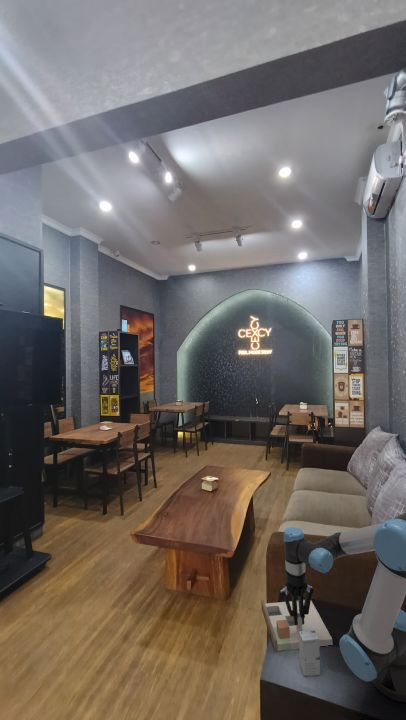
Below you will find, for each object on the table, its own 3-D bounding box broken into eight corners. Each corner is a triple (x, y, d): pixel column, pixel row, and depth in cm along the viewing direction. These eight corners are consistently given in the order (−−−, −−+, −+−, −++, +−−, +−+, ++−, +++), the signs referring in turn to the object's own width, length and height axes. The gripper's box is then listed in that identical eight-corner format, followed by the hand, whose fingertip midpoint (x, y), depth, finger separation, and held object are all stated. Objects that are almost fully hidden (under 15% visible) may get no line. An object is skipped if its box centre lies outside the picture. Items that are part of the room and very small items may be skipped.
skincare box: (304, 677, 117) (302, 641, 118) (299, 665, 122) (297, 631, 122) (321, 674, 118) (319, 639, 118) (316, 663, 122) (314, 629, 123)
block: (289, 638, 131) (289, 627, 131) (279, 638, 131) (279, 628, 131) (286, 629, 135) (286, 619, 135) (276, 630, 135) (276, 620, 135)
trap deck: (332, 645, 130) (332, 635, 130) (275, 651, 128) (274, 640, 128) (310, 605, 152) (310, 596, 152) (261, 609, 150) (261, 600, 150)
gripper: (308, 563, 138) (312, 623, 137) (276, 566, 137) (280, 627, 136) (315, 574, 130) (320, 637, 129) (282, 577, 129) (286, 642, 128)
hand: (299, 632), depth 133 cm, fingers closed
